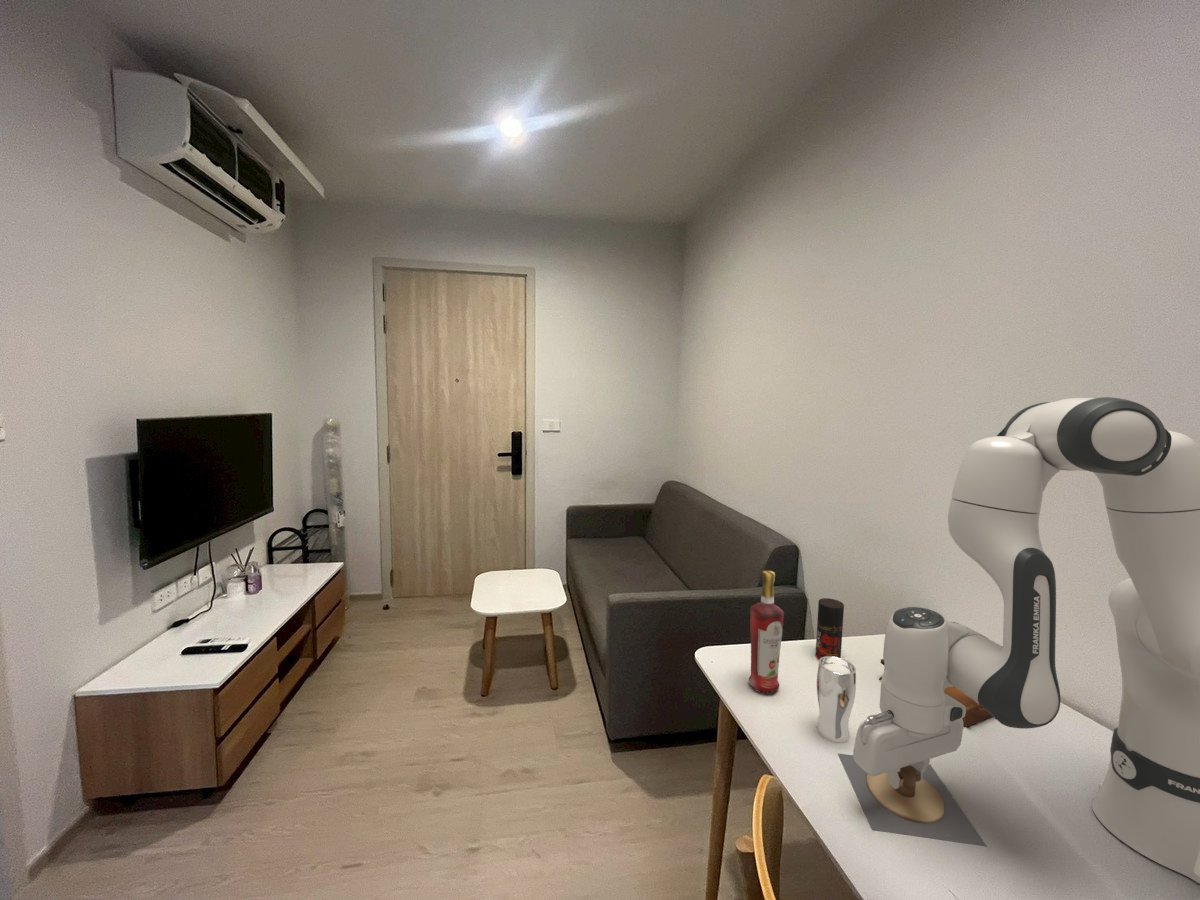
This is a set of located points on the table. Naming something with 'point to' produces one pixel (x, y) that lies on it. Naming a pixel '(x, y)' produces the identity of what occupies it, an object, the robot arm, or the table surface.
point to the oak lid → (908, 797)
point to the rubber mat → (881, 819)
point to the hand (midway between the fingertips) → (904, 782)
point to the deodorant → (829, 628)
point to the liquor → (765, 638)
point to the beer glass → (835, 697)
